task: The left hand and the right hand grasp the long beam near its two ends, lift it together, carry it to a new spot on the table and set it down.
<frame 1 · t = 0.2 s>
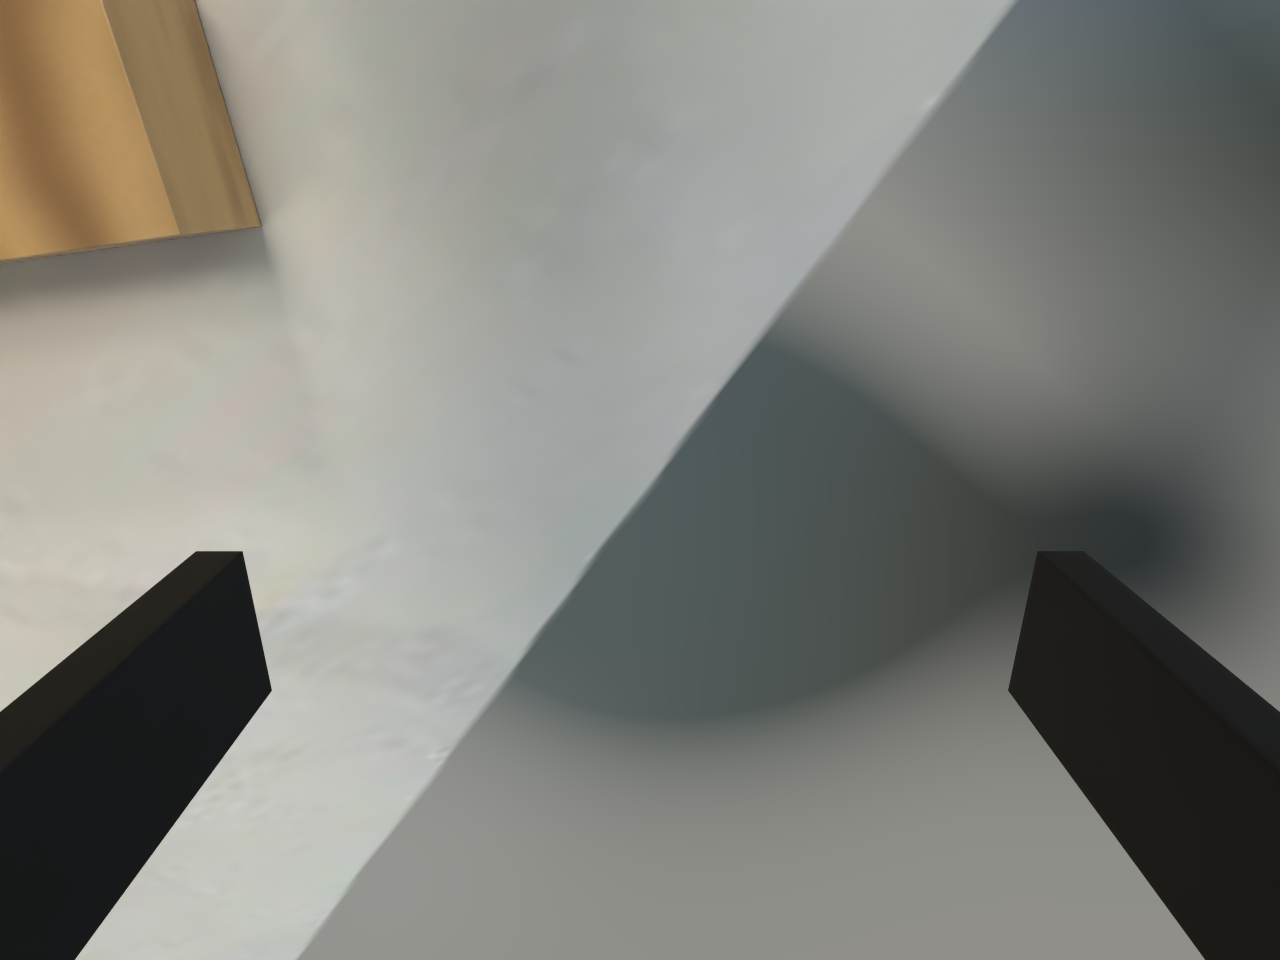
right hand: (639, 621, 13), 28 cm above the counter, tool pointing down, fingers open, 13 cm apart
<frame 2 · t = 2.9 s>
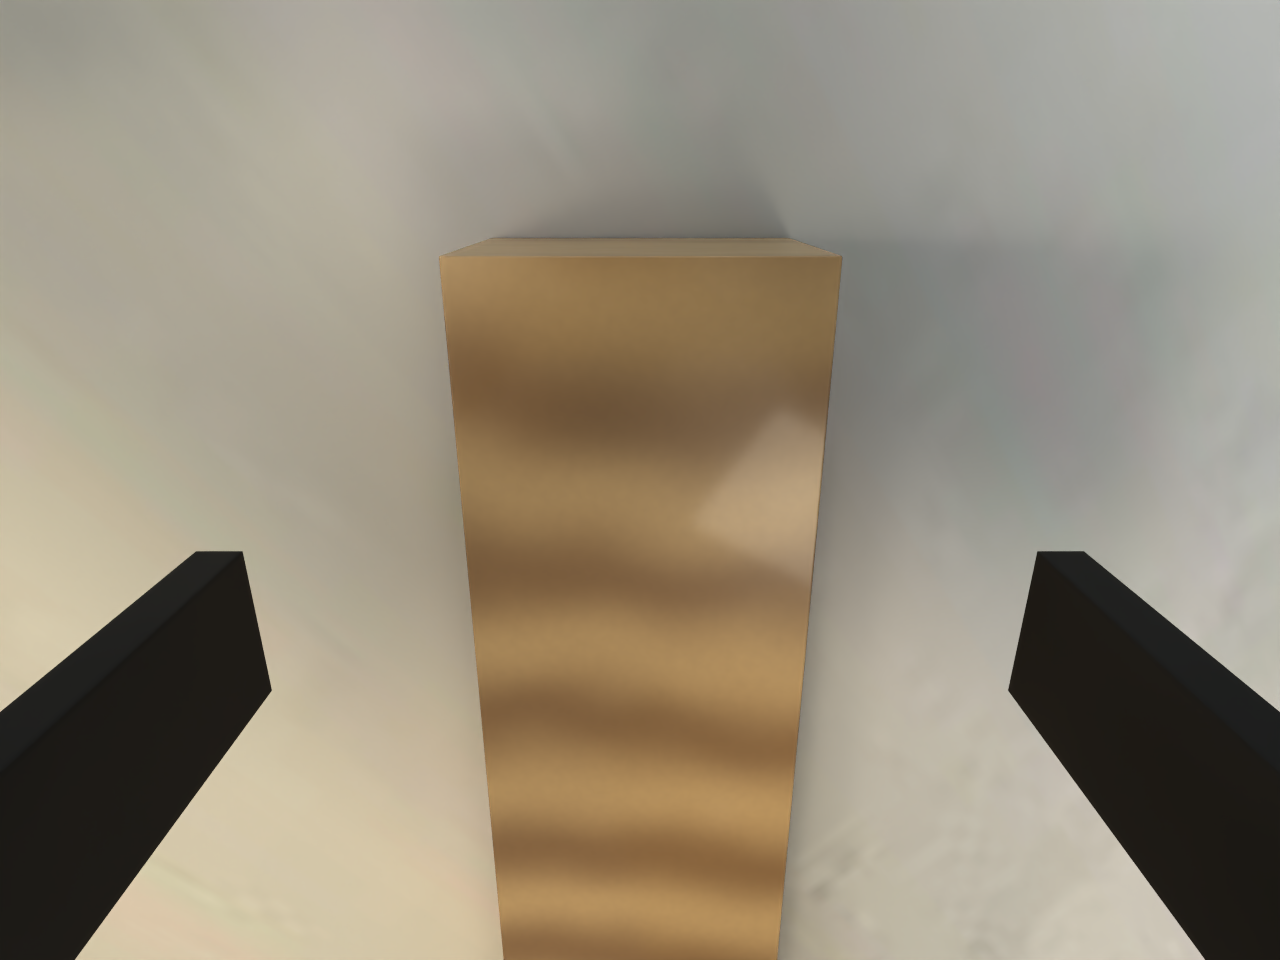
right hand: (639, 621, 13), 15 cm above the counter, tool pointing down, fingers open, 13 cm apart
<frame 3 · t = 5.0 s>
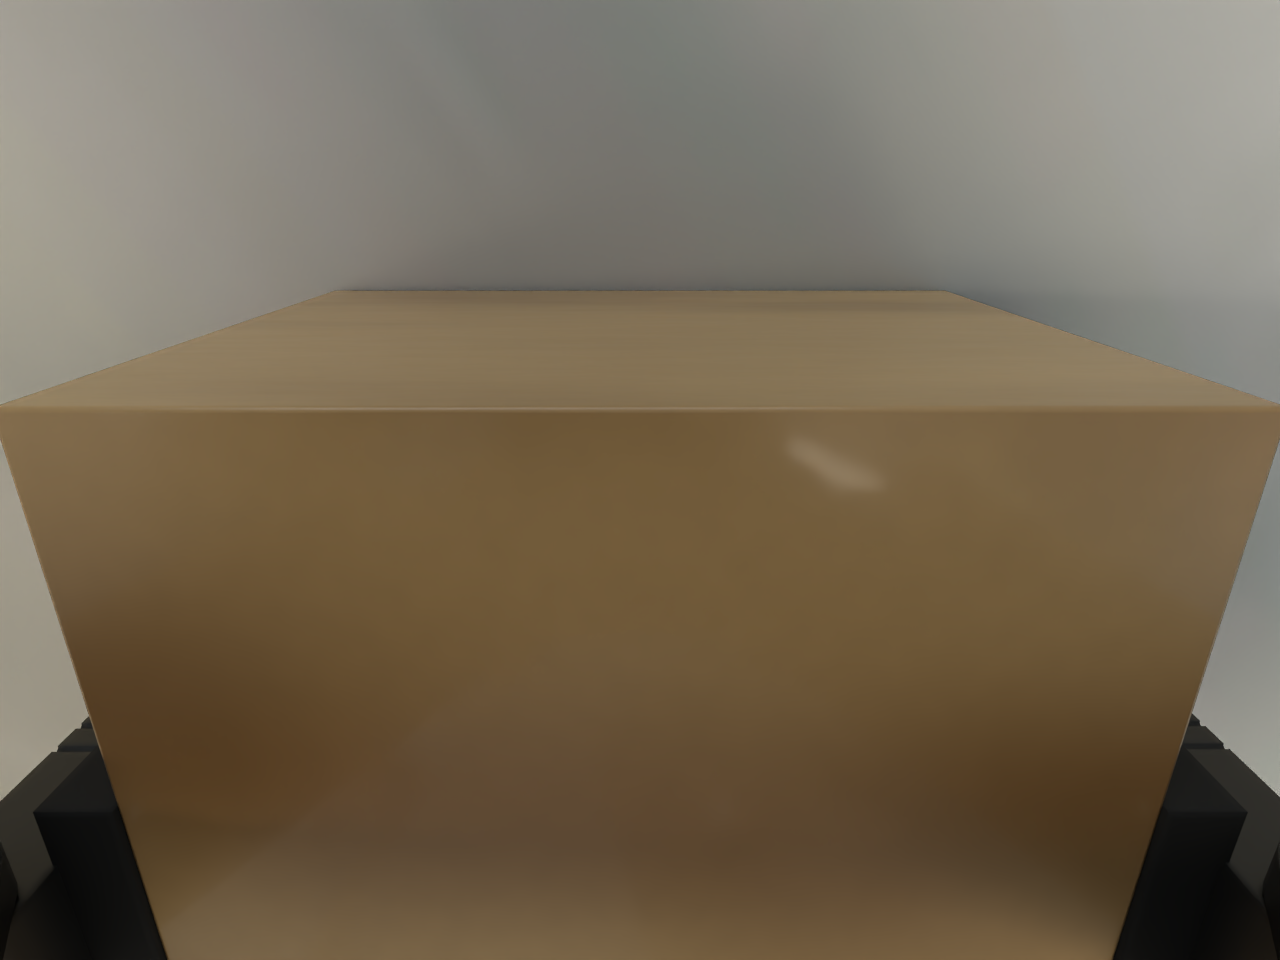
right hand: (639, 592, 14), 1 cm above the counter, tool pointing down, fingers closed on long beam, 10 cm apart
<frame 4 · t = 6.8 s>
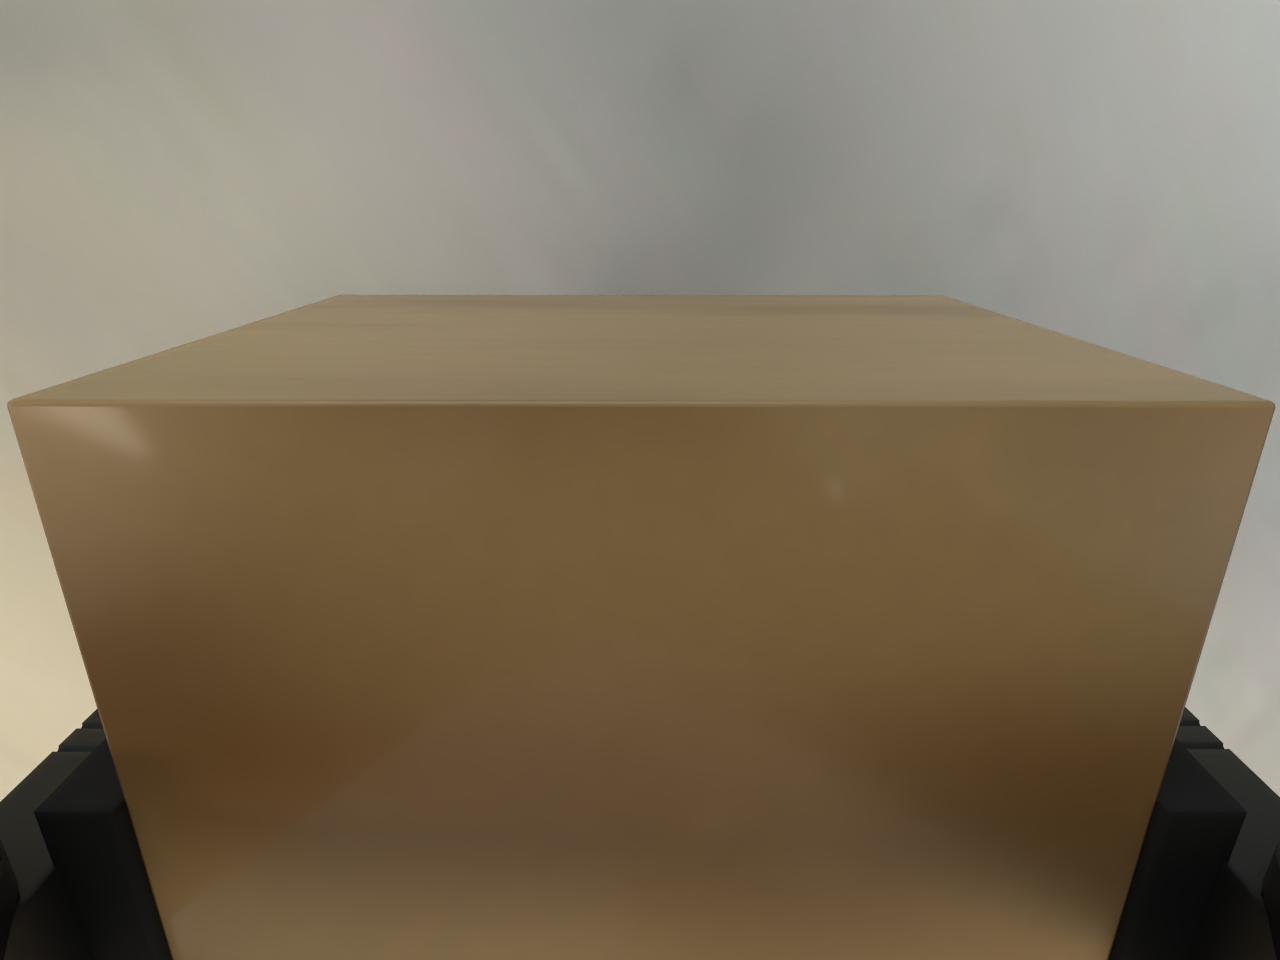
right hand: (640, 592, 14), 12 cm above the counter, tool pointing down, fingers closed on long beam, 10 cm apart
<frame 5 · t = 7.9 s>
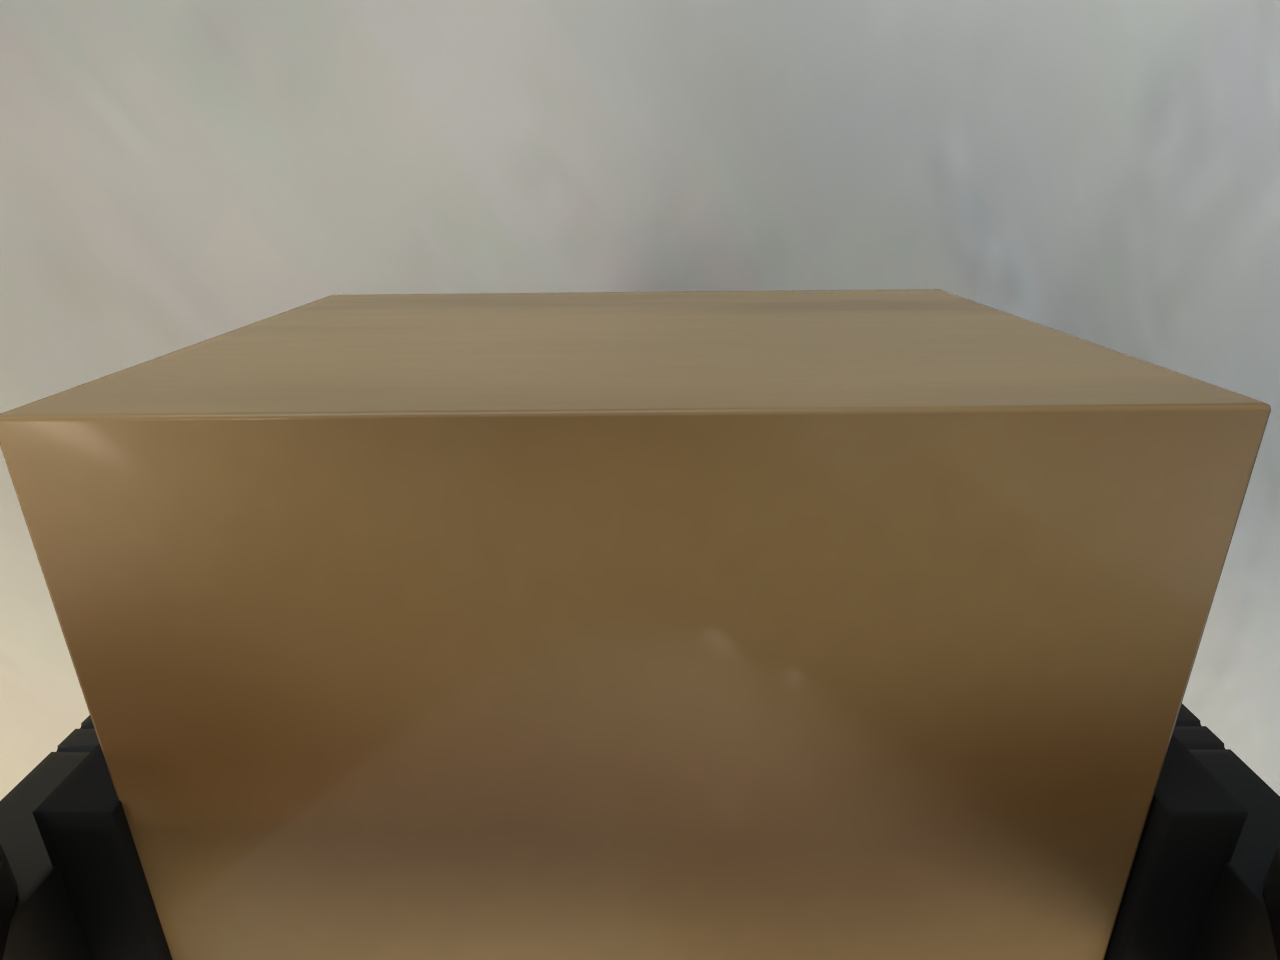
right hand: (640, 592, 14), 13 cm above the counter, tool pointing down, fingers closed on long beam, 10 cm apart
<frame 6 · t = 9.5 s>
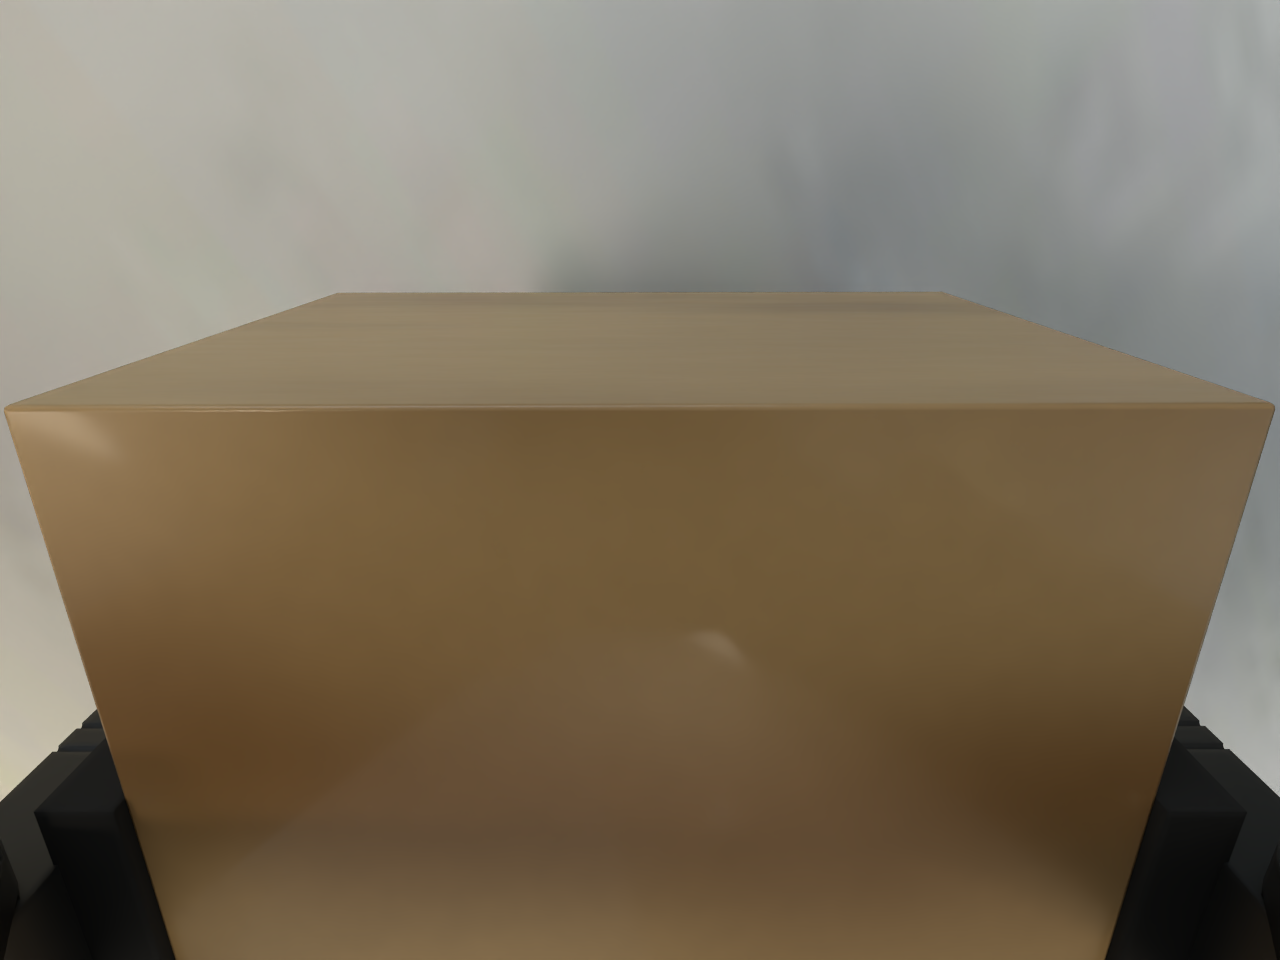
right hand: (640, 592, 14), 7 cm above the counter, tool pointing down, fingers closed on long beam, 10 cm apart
when the left hand's fingers open (2 cm above the counter, at t = 10.9 s): long beam drops 1 cm, on the counter.
when the right hand's fingers open (2 cm above the counter, at t = 10.9 s): long beam drops 1 cm, on the counter.
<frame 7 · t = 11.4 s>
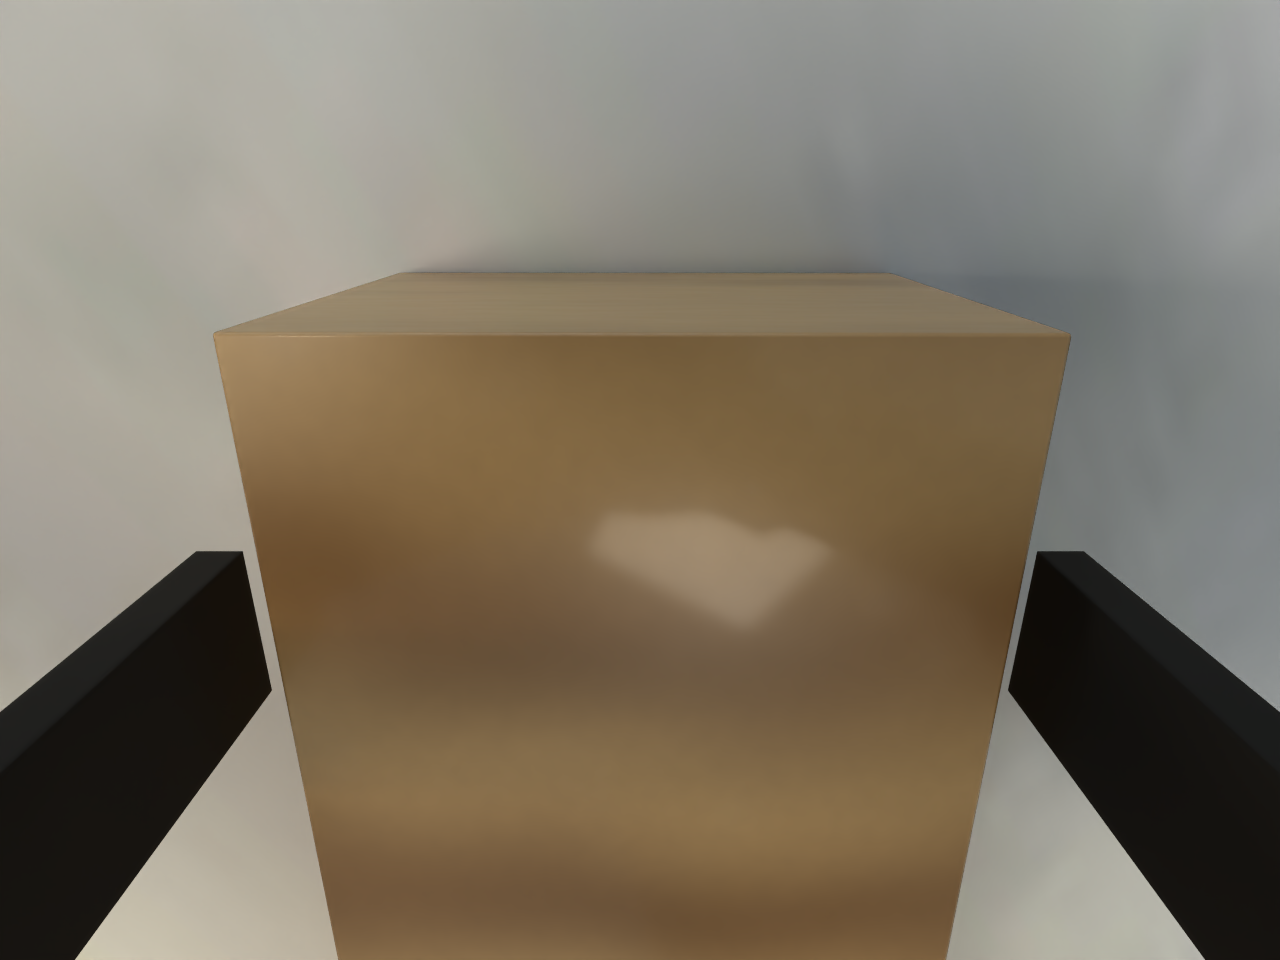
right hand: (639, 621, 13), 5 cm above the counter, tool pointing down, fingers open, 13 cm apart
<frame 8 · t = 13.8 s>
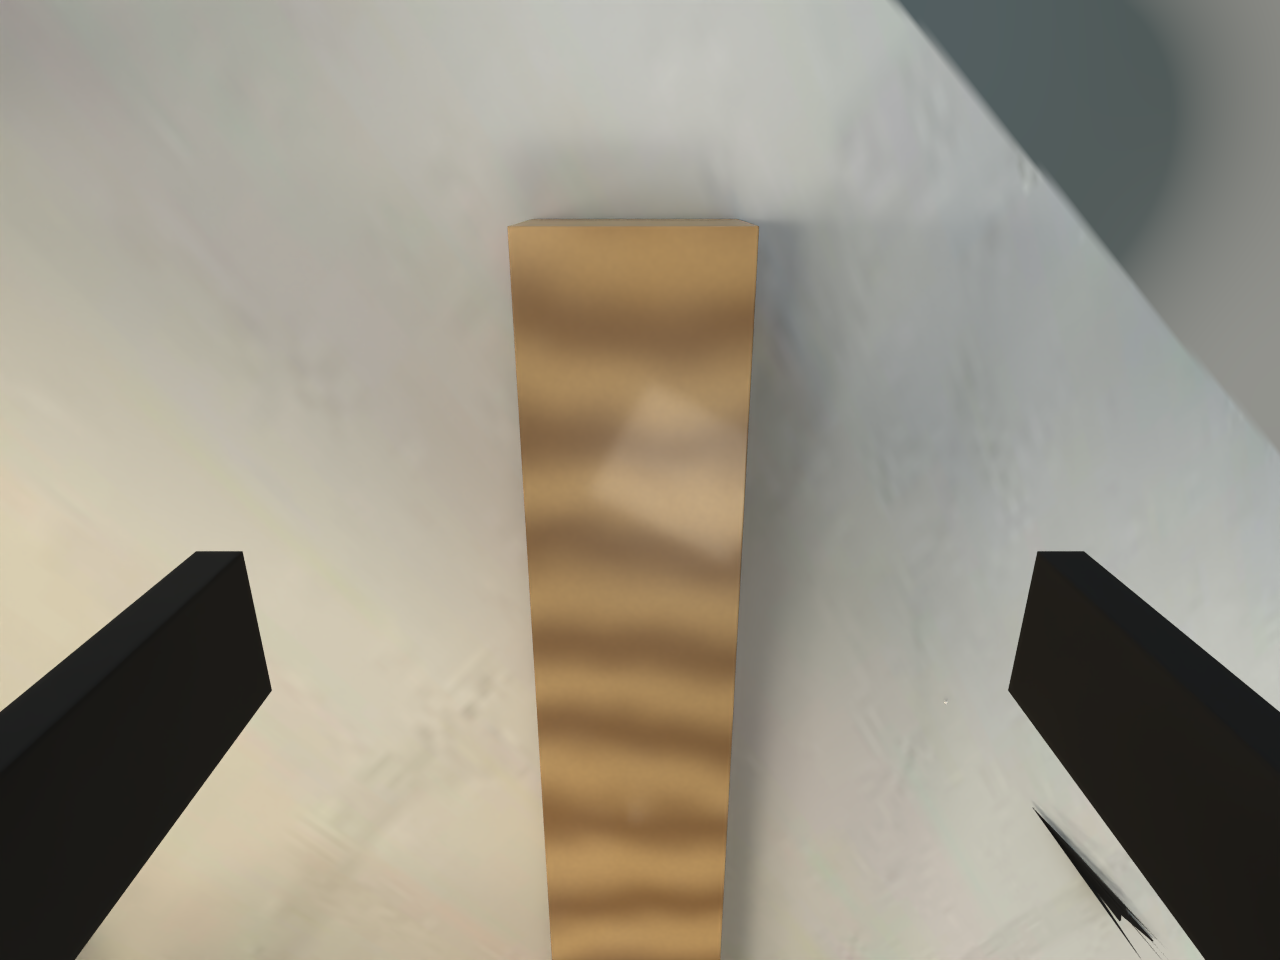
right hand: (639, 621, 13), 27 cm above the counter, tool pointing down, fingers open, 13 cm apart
long beam: (636, 864, 51), on the counter
feather: (1054, 831, 50), on the counter
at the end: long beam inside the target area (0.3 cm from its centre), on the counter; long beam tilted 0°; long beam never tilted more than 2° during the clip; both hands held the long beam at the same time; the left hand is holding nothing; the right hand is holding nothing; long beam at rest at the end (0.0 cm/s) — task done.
